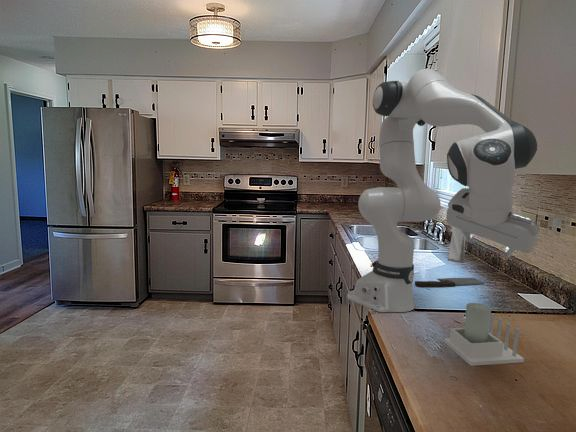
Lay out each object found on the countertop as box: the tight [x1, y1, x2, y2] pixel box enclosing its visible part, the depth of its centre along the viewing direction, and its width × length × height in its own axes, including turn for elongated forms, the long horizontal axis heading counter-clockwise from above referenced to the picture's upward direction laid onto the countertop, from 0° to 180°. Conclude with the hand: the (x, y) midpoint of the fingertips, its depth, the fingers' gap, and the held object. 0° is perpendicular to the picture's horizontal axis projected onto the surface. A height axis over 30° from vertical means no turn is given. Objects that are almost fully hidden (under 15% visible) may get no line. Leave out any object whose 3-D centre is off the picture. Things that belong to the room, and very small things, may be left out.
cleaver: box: [414, 277, 485, 288], centre depth 152 cm, size 29×10×2 cm, turn 105°
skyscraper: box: [447, 226, 468, 264], centre depth 185 cm, size 8×8×28 cm
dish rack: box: [442, 312, 525, 367], centre depth 98 cm, size 14×12×8 cm
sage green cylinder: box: [463, 302, 492, 343], centre depth 97 cm, size 6×6×11 cm
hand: (488, 247), depth 97 cm, fingers open, 8 cm apart
